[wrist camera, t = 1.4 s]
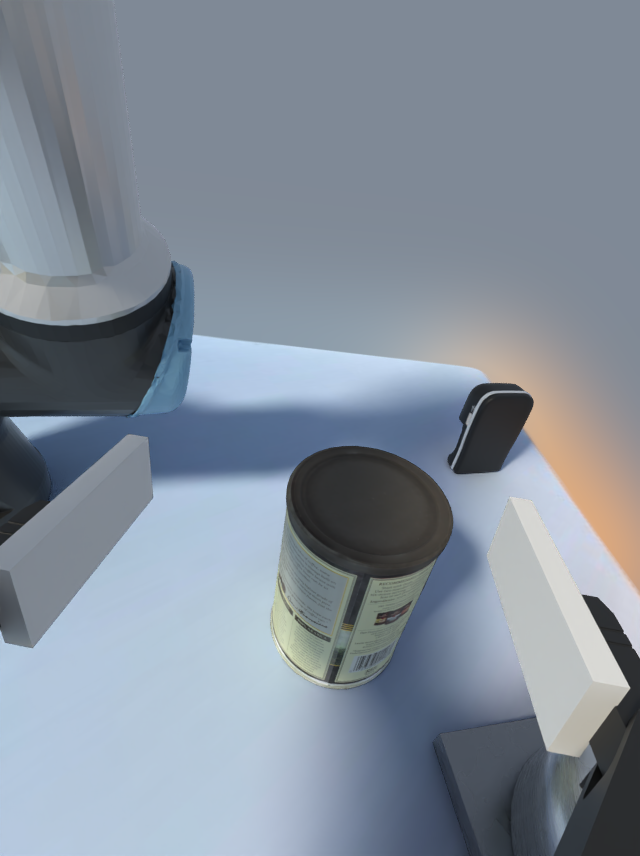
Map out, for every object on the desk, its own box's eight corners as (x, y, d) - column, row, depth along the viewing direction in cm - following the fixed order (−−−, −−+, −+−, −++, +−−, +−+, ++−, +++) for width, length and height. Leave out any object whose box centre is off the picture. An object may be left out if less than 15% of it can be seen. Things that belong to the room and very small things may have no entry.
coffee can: (321, 547, 40) (349, 426, 32) (418, 618, 36) (478, 498, 28) (240, 624, 33) (250, 493, 25) (348, 725, 29) (402, 605, 20)
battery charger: (485, 453, 57) (520, 378, 50) (501, 472, 54) (541, 395, 47) (438, 455, 55) (469, 377, 48) (452, 475, 52) (487, 395, 45)
